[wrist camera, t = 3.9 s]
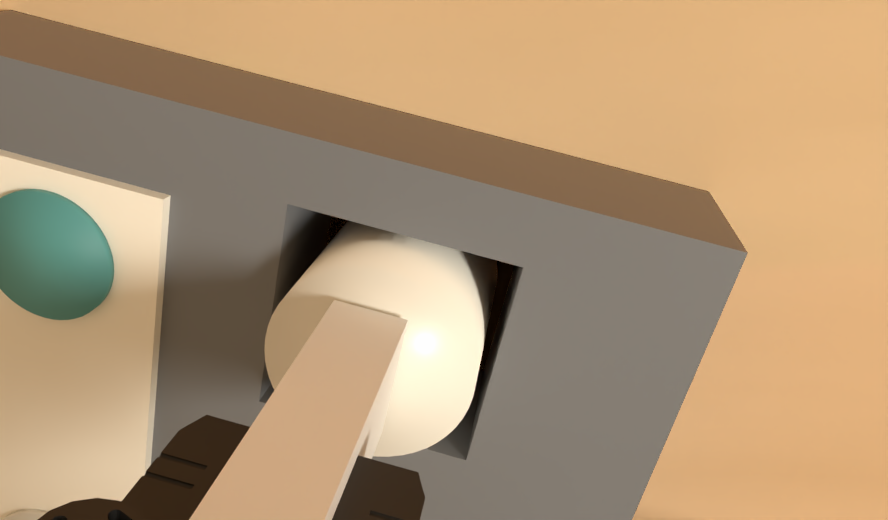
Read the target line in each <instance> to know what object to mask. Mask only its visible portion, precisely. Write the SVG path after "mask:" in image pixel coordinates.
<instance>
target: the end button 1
mask: <svg viewBox="0 0 888 520" xmlns="http://www.w3.org/2000/svg"><path fill="white" fill-rule="evenodd" d="M496 284H497V262H496V260H493V259H490V258H486V257H482V256H479V255H475V254H471V253H467V252H464V251H460V250H456V249H453V248H449V247H445V246H441V245H438V244H434V243H430V242H427V241H423V240H419V239H415V238H412V237H408V236H404V235H401V234H397V233H393V232H389V231H386V230H382V229H378V228H375V227H371V226H367V225H363V224H360V223H356V222H352V221H349V220H348V221H347V222H346V223H345V224H344V226H343V227H342V228H341V229H340V231H339V232H338V233H337V234H336V235H335V237H334V238H333V239H332V240H331V241H330V243H329V244H328V245H327V246H326V247H325V249H324V250H323V251H322V252H321V253H320V255H319V256H318V257H317V258H316V259H315V261H314V262H313V263H312V264H311V266H310V267H309V268H308V269H307V270H306V272H305V273H304V274H303V275H302V276H301V278H300V279H299V280H298V281H297V282H296V284H295V285H294V286H293V287H292V288H291V290H290V291H289V292H288V293H287V294H286V296H285V297H284V298H283V299H282V301H281V302H280V303H279V304H278V306H277V308H276V309H275V311H274V313H273V314H272V317H271V319H270V322H269V324H268V328H267V332H266V337H265V348H264V352H265V363H266V368H267V372H268V376H269V379H270V381H271V384H272V387H273V389H274V390H275V389H276V387H277V386H278V384H279V383H280V381H281V380H282V378H283V377H284V375H285V374H286V372H287V371H288V369H289V368H290V366H291V365H292V363H293V362H294V360H295V359H296V357H297V356H298V354H299V353H300V351H301V350H302V348H303V347H304V345H305V343H306V342H307V340H308V339H309V337H310V336H311V334H312V333H313V331H314V330H315V328H316V327H317V325H318V324H319V322H320V321H321V319H322V318H323V316H324V315H325V313H326V312H327V310H328V309H329V307H330V306H331V304H332V303H333V301H334V300H337V301H340V302H344V303H348V304H351V305H355V306H359V307H362V308H366V309H370V310H373V311H377V312H381V313H384V314H388V315H392V316H395V317H399V318H403V319H406V320H408V323H407V327H406V331H405V336H404V340H403V344H402V348H401V353H400V357H399V361H398V366H397V370H396V374H395V379H394V383H393V387H392V391H391V396H390V400H389V404H388V409H387V413H386V417H385V421H384V426H383V430H382V433H381V436H380V439H379V441H378V444H377V447H376V449H375V452H374V455H373V456H376V457H391V456H400V455H406V454H410V453H415V452H417V451H420V450H423V449H426V448H428V447H430V446H432V445H434V444H436V443H437V442H439V441H440V440H442V439H443V438H445V437H446V436H447V435H448V434H449V433H451V432H452V431H453V430H454V429H455V428H456V427H457V425H458V424H459V423H460V422H461V420H462V419H463V418H464V416H465V414H466V412H467V411H468V409H469V407H470V404H471V402H472V399H473V396H474V391H475V386H476V382H477V377H478V372H479V367H480V362H481V357H482V352H483V347H484V343H485V338H486V333H487V328H488V323H489V318H490V313H491V309H492V304H493V299H494V294H495V289H496Z"/></svg>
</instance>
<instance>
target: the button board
mask: <svg viewBox="0 0 888 520" xmlns="http://www.w3.org/2000/svg"><path fill="white" fill-rule="evenodd" d="M331 216H334V217H337V218H341V219H345V220H349V221H352V222H356V223H360V224H363V225H367V226H371V227H375V228H378V229H382V230H386V231H389V232H393V233H397V234H401V235H404V236H408V237H412V238H415V239H419V240H423V241H427V242H430V243H434V244H438V245H441V246H445V247H449V248H453V249H456V250H460V251H464V252H467V253H471V254H475V255H479V256H482V257H486V258H490V259H493V260H497V261H501V262H505V263H508V264H512V265H514V268H513V271H512V275H511V278H510V282H509V285H508V288H507V292H506V295H505V299H504V302H503V306H502V309H501V312H500V316H499V319H498V323H497V326H496V330H495V333H494V336H493V340H492V343H491V347H490V350H489V354H488V357H487V361H486V364H485V367H484V370H480V369H479V372H478V377H477V382H476V386H475V391H474V396H473V399H472V402H471V404H470V407H469V409H468V411H467V412H466V414H465V416H464V418H463V419H462V420H461V422H460V423H459V424H458V425H457V427H456V428H455V429H454V430H453V431H452V432H451V433H449V434H448V435H447V436H446V437H445V438H443V439H442V440H440V441H439V442H437V443H436V444H434V445H432V446H430V447H428V448H426V449H423V450H420V451H417V452H415V453H410V454H406V455H400V456H391V457H376V456H373V457H372V459H373V460H377V461H380V462H384V463H387V464H391V465H394V466H398V467H401V468H405V469H409V470H412V471H416V472H418V473H419V477H420V481H421V484H422V488H423V492H424V495H425V501H424V505H423V509H422V513H421V517H420V520H632V518H633V516H634V514H635V511H636V509H637V507H638V504H639V502H640V500H641V497H642V495H643V493H644V491H645V488H646V486H647V484H648V481H649V479H650V477H651V474H652V472H653V470H654V468H655V465H656V463H657V461H658V458H659V456H660V454H661V451H662V449H663V447H664V444H665V442H666V440H667V438H668V435H669V433H670V431H671V428H672V426H673V424H674V421H675V419H676V417H677V414H678V412H679V410H680V408H681V405H682V403H683V401H684V398H685V396H686V394H687V391H688V389H689V387H690V385H691V382H692V380H693V378H694V375H695V373H696V371H697V368H698V366H699V364H700V361H701V359H702V357H703V355H704V352H705V350H706V348H707V345H708V343H709V341H710V338H711V336H712V334H713V332H714V329H715V327H716V325H717V322H718V320H719V318H720V315H721V313H722V311H723V308H724V306H725V304H726V302H727V299H728V297H729V295H730V292H731V290H732V288H733V285H734V283H735V281H736V278H737V276H738V274H739V272H740V269H741V267H742V265H743V262H744V260H745V258H746V255H747V251H746V249H745V248H744V246H743V245H742V243H741V242H740V240H739V238H738V237H737V235H736V234H735V232H734V230H733V229H732V227H731V226H730V224H729V223H728V221H727V219H726V218H725V216H724V215H723V213H722V212H721V210H720V208H719V207H718V205H717V204H716V202H715V200H714V199H713V197H712V196H711V194H710V193H709V192H708V191H704V190H700V189H696V188H692V187H689V186H685V185H681V184H677V183H673V182H669V181H666V180H662V179H658V178H654V177H650V176H646V175H642V174H639V173H635V172H631V171H627V170H623V169H619V168H616V167H612V166H608V165H604V164H600V163H596V162H593V161H589V160H585V159H581V158H577V157H573V156H570V155H566V154H562V153H558V152H554V151H550V150H546V149H543V148H539V147H535V146H531V145H527V144H523V143H520V142H516V141H512V140H508V139H504V138H500V137H497V136H493V135H489V134H485V133H481V132H477V131H473V130H470V129H466V128H462V127H458V126H454V125H450V124H447V123H443V122H439V121H435V120H431V119H427V118H424V117H420V116H416V115H412V114H408V113H404V112H401V111H397V110H393V109H389V108H385V107H381V106H377V105H374V104H370V103H366V102H362V101H358V100H354V99H351V98H347V97H343V96H339V95H335V94H331V93H328V92H324V91H320V90H316V89H312V88H308V87H305V86H301V85H297V84H293V83H289V82H285V81H281V80H278V79H274V78H270V77H266V76H262V75H258V74H255V73H251V72H247V71H243V70H239V69H235V68H232V67H228V66H224V65H220V64H216V63H212V62H208V61H205V60H201V59H197V58H193V57H189V56H185V55H182V54H178V53H174V52H170V51H166V50H162V49H159V48H155V47H151V46H147V45H143V44H139V43H136V42H132V41H128V40H124V39H120V38H116V37H112V36H109V35H105V34H101V33H97V32H93V31H89V30H86V29H82V28H78V27H74V26H70V25H66V24H63V23H59V22H55V21H51V20H47V19H43V18H39V17H36V16H32V15H28V14H24V13H20V12H16V11H13V10H9V11H0V520H38V519H39V518H40V517H42V516H43V515H44V514H45V513H47V512H48V511H50V510H52V509H55V508H57V507H59V506H62V505H64V504H67V503H69V502H72V501H78V500H85V499H93V498H102V499H110V500H117V501H122V500H123V499H124V498H125V496H126V495H127V494H128V493H129V491H130V490H131V489H132V488H133V487H134V485H135V484H136V483H137V482H138V480H139V479H140V478H141V477H142V476H144V475H145V473H146V470H147V469H148V468H149V467H150V465H151V464H152V463H153V462H154V461H155V459H156V458H157V457H160V455H161V452H162V451H163V449H164V448H165V447H166V446H167V444H168V443H169V442H170V441H171V439H172V438H173V437H174V436H175V435H176V433H177V432H178V431H179V430H180V429H182V428H184V427H186V426H187V425H189V424H191V423H193V422H194V421H196V420H198V419H200V418H201V417H203V416H205V415H210V416H213V417H217V418H220V419H224V420H228V421H231V422H235V423H238V424H242V425H245V426H249V427H251V425H252V424H253V422H254V421H255V419H256V418H257V416H258V415H259V413H260V412H261V410H262V409H263V407H264V406H265V404H266V403H267V401H268V399H269V398H270V396H271V395H272V393H273V392H274V389H273V387H272V384H271V381H270V379H269V376H268V372H267V368H266V363H265V352H264V348H265V337H266V332H267V328H268V324H269V322H270V319H271V317H272V314H273V313H274V311H275V309H276V308H277V306H278V304H279V303H280V302H281V301H282V299H283V298H284V297H285V296H286V294H287V293H288V292H289V291H290V290H291V288H292V287H293V286H294V285H295V284H296V282H297V281H298V280H299V279H300V278H301V276H302V275H303V274H304V273H305V272H306V270H307V269H308V268H309V267H310V266H311V264H312V263H313V262H314V261H315V259H316V258H317V257H318V256H319V255H320V253H321V252H322V251H323V250H324V249H325V247H326V244H327V239H328V233H329V227H330V221H331Z"/></svg>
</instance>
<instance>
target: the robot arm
mask: <svg viewBox="0 0 888 520" xmlns="http://www.w3.org/2000/svg"><path fill="white" fill-rule="evenodd" d="M407 323H408V320H406V319H403V318H399V317H395V316H392V315H388V314H384V313H381V312H377V311H373V310H370V309H366V308H362V307H359V306H355V305H351V304H348V303H344V302H340V301H337V300H334V301H333V303H332V304H331V306H330V307H329V309H328V310H327V312H326V313H325V315H324V316H323V318H322V319H321V321H320V322H319V324H318V325H317V327H316V328H315V330H314V331H313V333H312V334H311V336H310V337H309V339H308V340H307V342H306V343H305V345H304V347H303V348H302V350H301V351H300V353H299V354H298V356H297V357H296V359H295V360H294V362H293V363H292V365H291V366H290V368H289V369H288V371H287V372H286V374H285V375H284V377H283V378H282V380H281V381H280V383H279V384H278V386H277V387H276V389H275V390H274V392H273V393H272V395H271V396H270V398H269V399H268V401H267V403H266V404H265V406H264V407H263V409H262V410H261V412H260V413H259V415H258V416H257V418H256V419H255V421H254V422H253V424H252V425H251V427H249V426H245V425H242V424H238V423H235V422H231V421H228V420H224V419H220V418H217V417H213V416H210V415H205V416H203V417H201V418H200V419H198V420H196V421H194V422H193V423H191V424H189V425H187V426H186V427H184V428H182V429H180V430H179V431H178V432H177V433H176V435H175V436H174V437H173V438H172V439H171V441H170V442H169V443H168V444H167V446H166V447H165V448H164V449H163V451H162V452H161V455H160V457H157V458H156V459H155V461H154V462H153V463H152V464H151V465H150V467H149V468H148V469H147V470H146V473H145V475H144V476H142V477H141V478H140V479H139V480H138V482H137V483H136V484H135V485H134V487H133V488H132V489H131V490H130V491H129V493H128V494H127V495H126V496H125V498H124V499H123V500H122V501H117V500H110V499H102V498H93V499H85V500H78V501H72V502H69V503H67V504H64V505H62V506H59V507H57V508H55V509H52V510H50V511H48V512H47V513H45V514H44V515H43V516H42V517H40V518H39V519H38V520H420V517H421V513H422V509H423V505H424V501H425V495H424V492H423V488H422V484H421V481H420V477H419V473H418V472H416V471H412V470H409V469H405V468H401V467H398V466H394V465H391V464H387V463H384V462H380V461H377V460H373V459H372V457H373V455H374V452H375V449H376V447H377V444H378V441H379V439H380V436H381V433H382V430H383V426H384V421H385V417H386V413H387V409H388V404H389V400H390V396H391V391H392V387H393V383H394V379H395V374H396V370H397V366H398V361H399V357H400V353H401V348H402V344H403V340H404V336H405V331H406V327H407Z"/></svg>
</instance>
